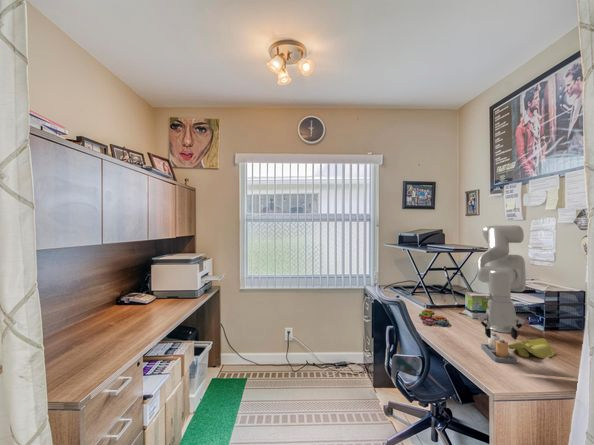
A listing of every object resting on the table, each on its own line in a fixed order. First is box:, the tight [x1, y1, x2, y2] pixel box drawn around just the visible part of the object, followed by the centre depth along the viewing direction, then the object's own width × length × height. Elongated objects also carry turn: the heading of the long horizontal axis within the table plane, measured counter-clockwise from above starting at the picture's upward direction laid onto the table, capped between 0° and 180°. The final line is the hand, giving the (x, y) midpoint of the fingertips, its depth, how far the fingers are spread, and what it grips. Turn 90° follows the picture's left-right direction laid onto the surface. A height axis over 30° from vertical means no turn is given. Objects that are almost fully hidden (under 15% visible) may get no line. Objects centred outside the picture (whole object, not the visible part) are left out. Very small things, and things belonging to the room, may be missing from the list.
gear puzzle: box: [418, 308, 452, 328], centre depth 186 cm, size 31×16×4 cm, turn 165°
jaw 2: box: [487, 332, 501, 350], centre depth 134 cm, size 4×4×8 cm
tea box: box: [464, 291, 490, 320], centre depth 188 cm, size 15×10×15 cm, turn 83°
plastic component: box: [508, 338, 555, 359], centre depth 132 cm, size 20×7×10 cm
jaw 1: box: [496, 338, 509, 358], centre depth 126 cm, size 4×4×8 cm
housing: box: [480, 343, 518, 364], centre depth 130 cm, size 16×9×2 cm, turn 166°
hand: (501, 337), depth 126 cm, fingers open, 9 cm apart
